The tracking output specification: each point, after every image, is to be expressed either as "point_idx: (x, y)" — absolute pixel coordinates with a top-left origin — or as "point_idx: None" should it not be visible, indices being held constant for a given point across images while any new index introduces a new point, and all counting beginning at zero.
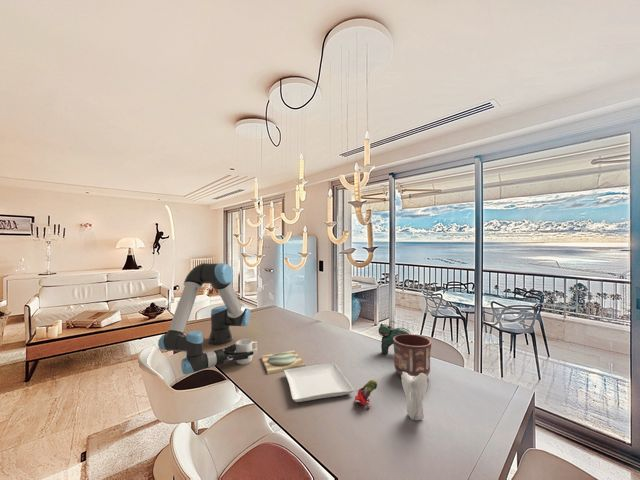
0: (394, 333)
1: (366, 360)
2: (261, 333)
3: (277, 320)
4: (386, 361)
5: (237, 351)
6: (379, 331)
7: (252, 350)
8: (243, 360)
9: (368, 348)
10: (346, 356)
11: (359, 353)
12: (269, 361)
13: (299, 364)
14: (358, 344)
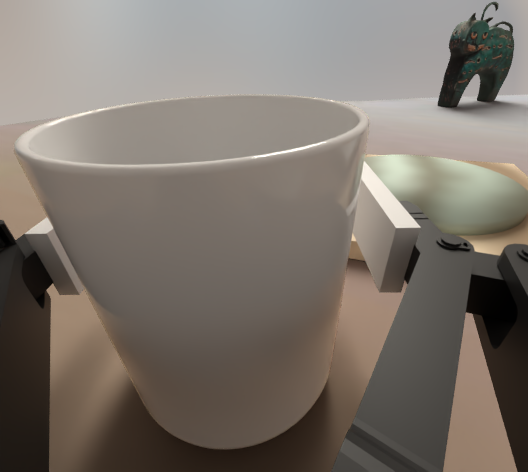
0: (493, 39)
1: (483, 118)
2: (4, 168)
3: (6, 130)
4: (500, 110)
5: (238, 333)
6: (469, 39)
7: (387, 192)
8: (328, 365)
9: (403, 108)
10: (438, 125)
11: (427, 116)
12: (456, 224)
13: (514, 172)
14: (367, 109)
